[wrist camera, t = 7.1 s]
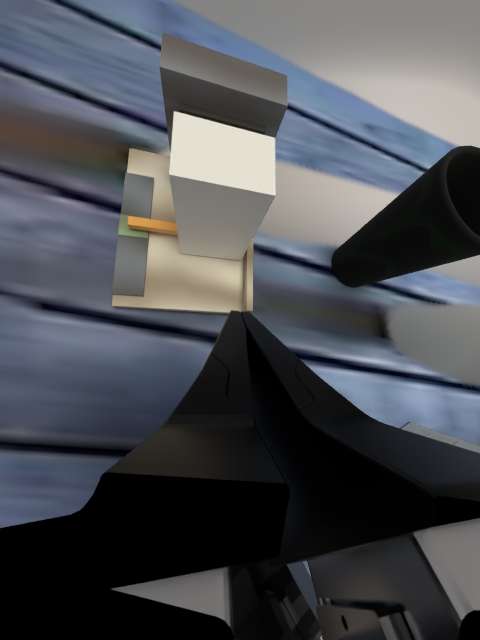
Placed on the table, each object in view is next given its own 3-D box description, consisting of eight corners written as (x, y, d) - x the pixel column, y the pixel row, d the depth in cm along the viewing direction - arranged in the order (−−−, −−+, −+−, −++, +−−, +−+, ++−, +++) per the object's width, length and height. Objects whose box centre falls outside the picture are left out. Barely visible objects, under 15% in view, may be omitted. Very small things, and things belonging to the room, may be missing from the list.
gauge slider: (241, 260, 20) (275, 195, 12) (129, 247, 18) (69, 154, 9) (241, 225, 21) (275, 137, 12) (133, 208, 19) (81, 86, 10)
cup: (312, 266, 24) (426, 188, 12) (343, 226, 26) (466, 124, 14) (358, 308, 24) (507, 271, 13) (385, 265, 26) (535, 200, 15)
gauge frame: (246, 315, 21) (291, 287, 11) (116, 307, 18) (28, 262, 9) (248, 181, 23) (286, 63, 14) (132, 157, 21) (77, -11, 11)
